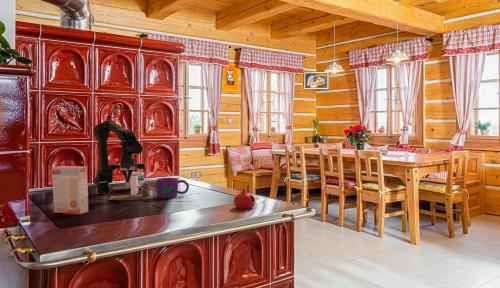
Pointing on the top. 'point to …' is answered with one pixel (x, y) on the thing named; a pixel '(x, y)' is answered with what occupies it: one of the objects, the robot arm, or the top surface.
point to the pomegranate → (244, 200)
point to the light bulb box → (140, 178)
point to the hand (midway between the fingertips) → (127, 182)
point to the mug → (169, 187)
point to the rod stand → (132, 197)
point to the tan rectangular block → (134, 185)
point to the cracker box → (70, 189)
